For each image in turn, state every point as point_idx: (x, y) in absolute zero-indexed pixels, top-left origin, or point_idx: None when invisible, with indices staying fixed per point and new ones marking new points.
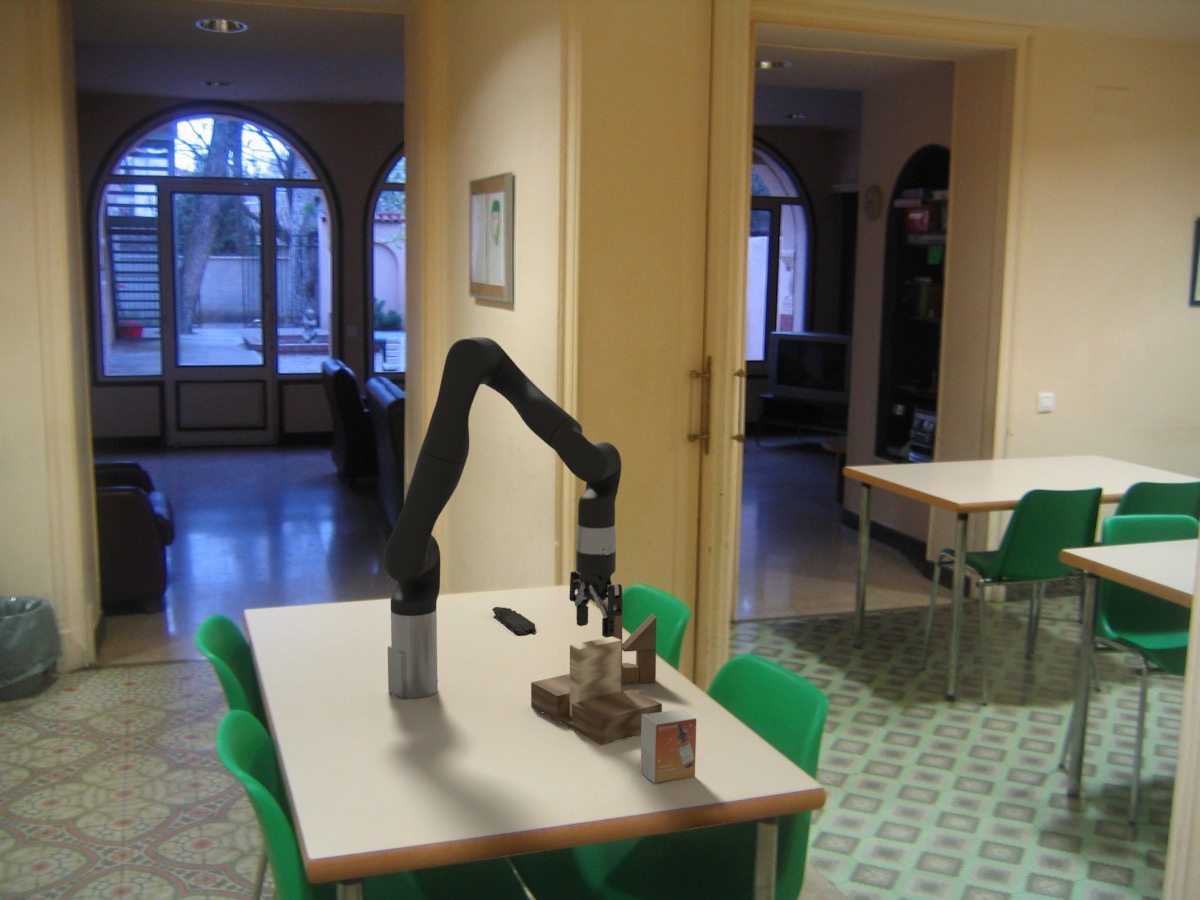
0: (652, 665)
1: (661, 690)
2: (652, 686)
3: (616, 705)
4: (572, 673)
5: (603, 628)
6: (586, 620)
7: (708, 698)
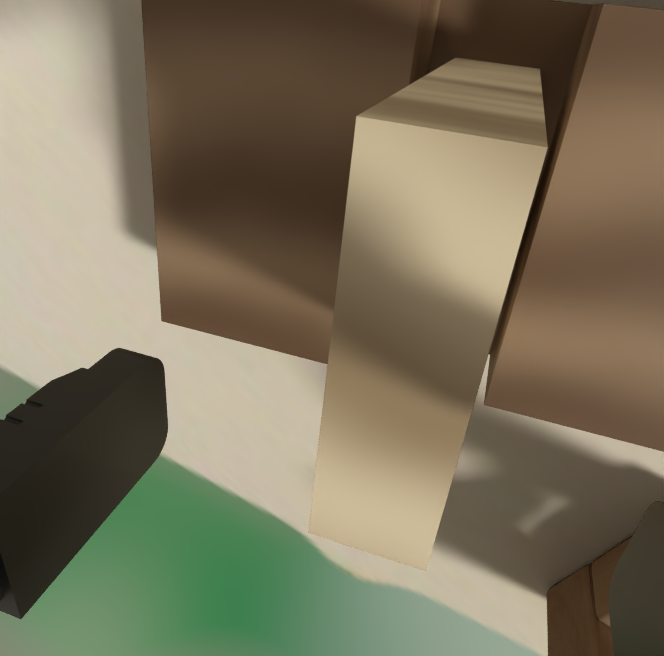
0: (555, 644)
1: (477, 543)
2: (529, 559)
3: (245, 166)
4: (501, 94)
5: (68, 398)
6: (621, 622)
7: (321, 550)
